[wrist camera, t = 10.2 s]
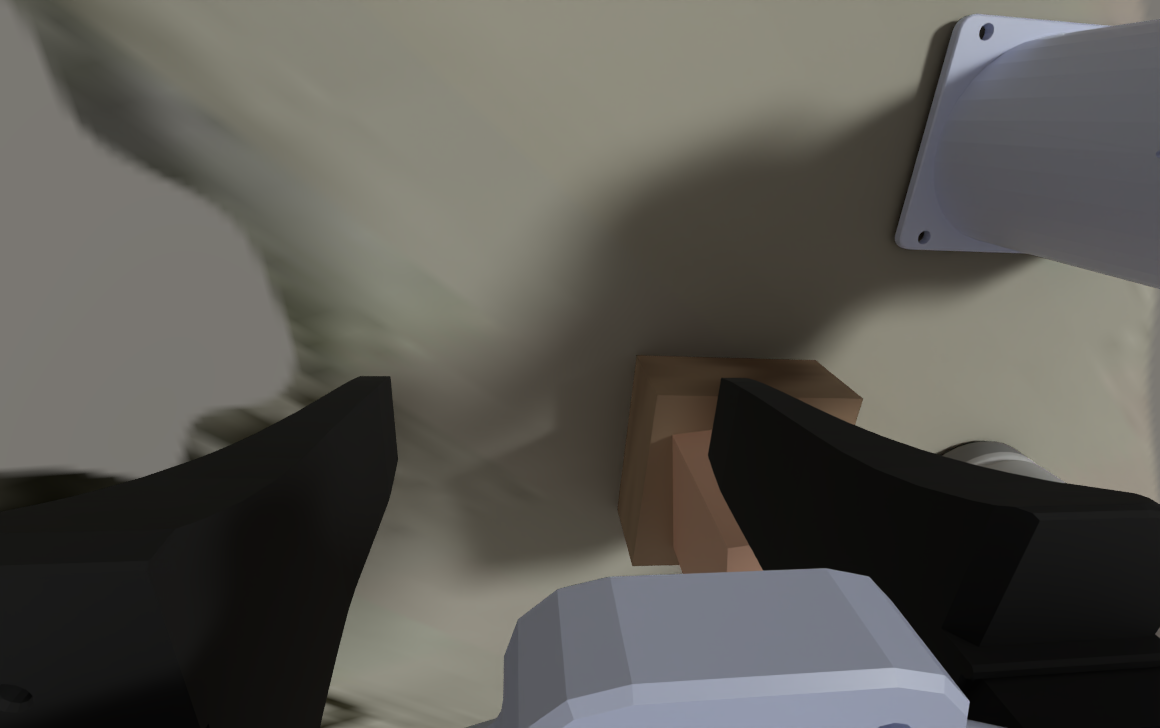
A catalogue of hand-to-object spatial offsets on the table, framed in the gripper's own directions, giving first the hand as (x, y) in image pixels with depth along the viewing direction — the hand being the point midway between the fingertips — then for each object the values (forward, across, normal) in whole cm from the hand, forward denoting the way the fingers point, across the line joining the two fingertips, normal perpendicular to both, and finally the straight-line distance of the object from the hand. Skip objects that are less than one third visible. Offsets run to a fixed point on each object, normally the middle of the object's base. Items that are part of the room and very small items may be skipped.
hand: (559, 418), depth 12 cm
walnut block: (+11, -8, +7) cm, 15 cm away
